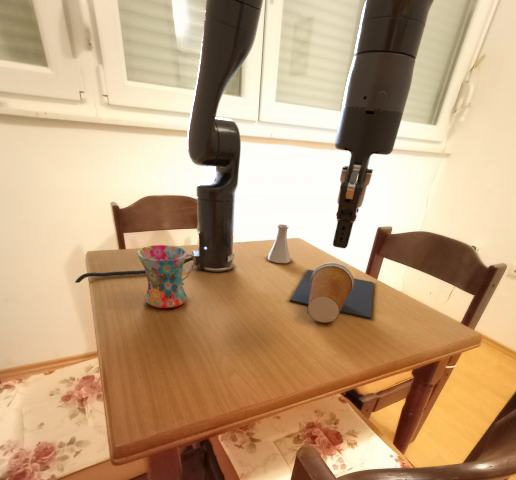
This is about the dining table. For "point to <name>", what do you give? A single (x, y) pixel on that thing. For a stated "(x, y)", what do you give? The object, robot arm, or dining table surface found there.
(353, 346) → the dining table surface
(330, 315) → the disposable coffee cup
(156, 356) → the dining table surface
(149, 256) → the mug
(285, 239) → the flask
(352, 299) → the mat
